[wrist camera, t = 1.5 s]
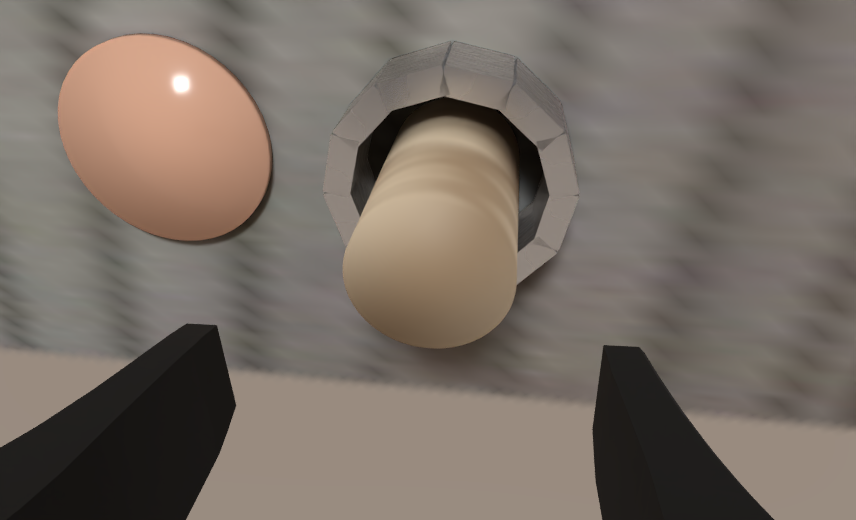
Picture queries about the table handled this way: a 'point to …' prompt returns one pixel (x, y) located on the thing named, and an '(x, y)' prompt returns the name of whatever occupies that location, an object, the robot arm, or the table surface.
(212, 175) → the coaster
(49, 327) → the table surface
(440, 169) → the peg
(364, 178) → the collar
